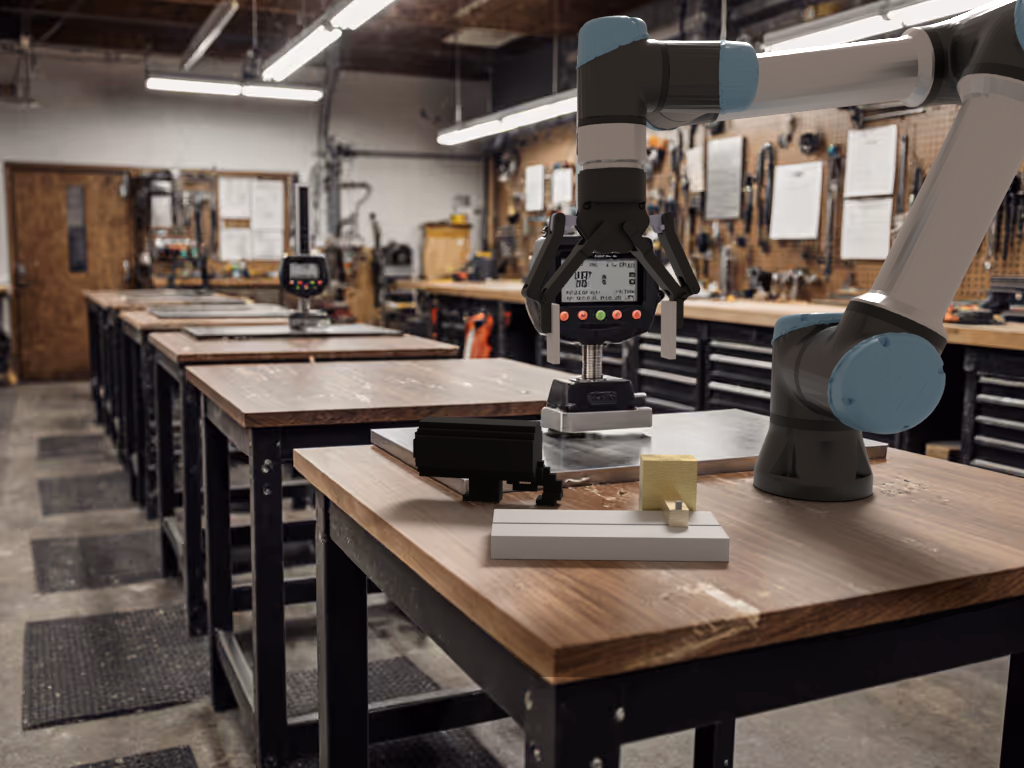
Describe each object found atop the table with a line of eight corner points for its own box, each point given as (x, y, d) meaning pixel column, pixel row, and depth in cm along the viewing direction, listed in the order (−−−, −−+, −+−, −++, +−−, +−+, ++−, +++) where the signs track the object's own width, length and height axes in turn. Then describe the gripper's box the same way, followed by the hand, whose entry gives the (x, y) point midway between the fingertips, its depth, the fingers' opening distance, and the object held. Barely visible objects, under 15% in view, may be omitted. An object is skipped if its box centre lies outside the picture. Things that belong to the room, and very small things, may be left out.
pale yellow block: (690, 522, 109) (692, 454, 108) (706, 550, 99) (709, 475, 98) (638, 522, 109) (640, 454, 108) (649, 549, 99) (651, 474, 98)
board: (709, 532, 105) (710, 510, 105) (728, 561, 96) (729, 537, 95) (494, 530, 106) (494, 508, 106) (490, 558, 96) (490, 535, 96)
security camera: (557, 512, 113) (558, 429, 112) (409, 503, 117) (409, 423, 116) (565, 497, 120) (567, 419, 119) (425, 489, 124) (425, 413, 122)
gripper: (703, 171, 110) (700, 352, 113) (493, 170, 105) (496, 360, 108) (732, 165, 103) (728, 359, 106) (508, 164, 98) (511, 368, 101)
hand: (611, 360), depth 107 cm, fingers open, 13 cm apart
